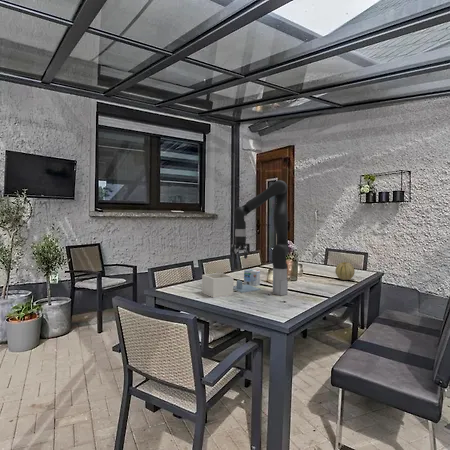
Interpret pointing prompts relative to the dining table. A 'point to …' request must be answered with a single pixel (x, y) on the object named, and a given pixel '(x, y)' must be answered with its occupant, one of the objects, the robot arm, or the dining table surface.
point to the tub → (217, 285)
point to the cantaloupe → (344, 271)
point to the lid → (244, 287)
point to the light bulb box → (252, 277)
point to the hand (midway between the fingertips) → (240, 258)
